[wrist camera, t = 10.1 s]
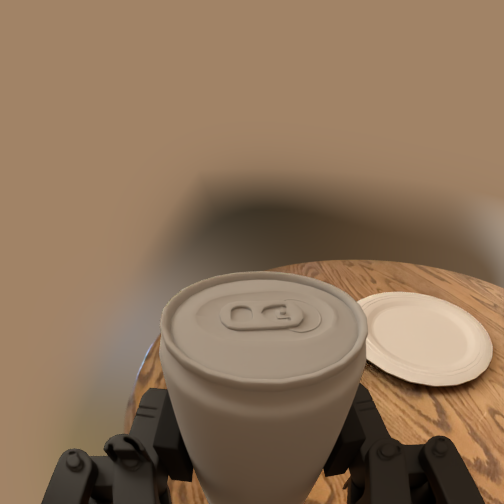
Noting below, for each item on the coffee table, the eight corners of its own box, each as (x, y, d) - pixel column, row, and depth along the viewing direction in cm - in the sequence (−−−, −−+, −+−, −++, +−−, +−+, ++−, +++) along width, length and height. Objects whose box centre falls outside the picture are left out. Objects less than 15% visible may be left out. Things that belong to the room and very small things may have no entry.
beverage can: (308, 527, 8) (417, 365, 4) (208, 534, 7) (123, 386, 3) (294, 459, 12) (332, 267, 8) (209, 464, 12) (175, 270, 8)
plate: (389, 287, 58) (391, 279, 58) (496, 329, 36) (500, 321, 35) (307, 337, 42) (308, 327, 41) (467, 424, 19) (474, 414, 19)
